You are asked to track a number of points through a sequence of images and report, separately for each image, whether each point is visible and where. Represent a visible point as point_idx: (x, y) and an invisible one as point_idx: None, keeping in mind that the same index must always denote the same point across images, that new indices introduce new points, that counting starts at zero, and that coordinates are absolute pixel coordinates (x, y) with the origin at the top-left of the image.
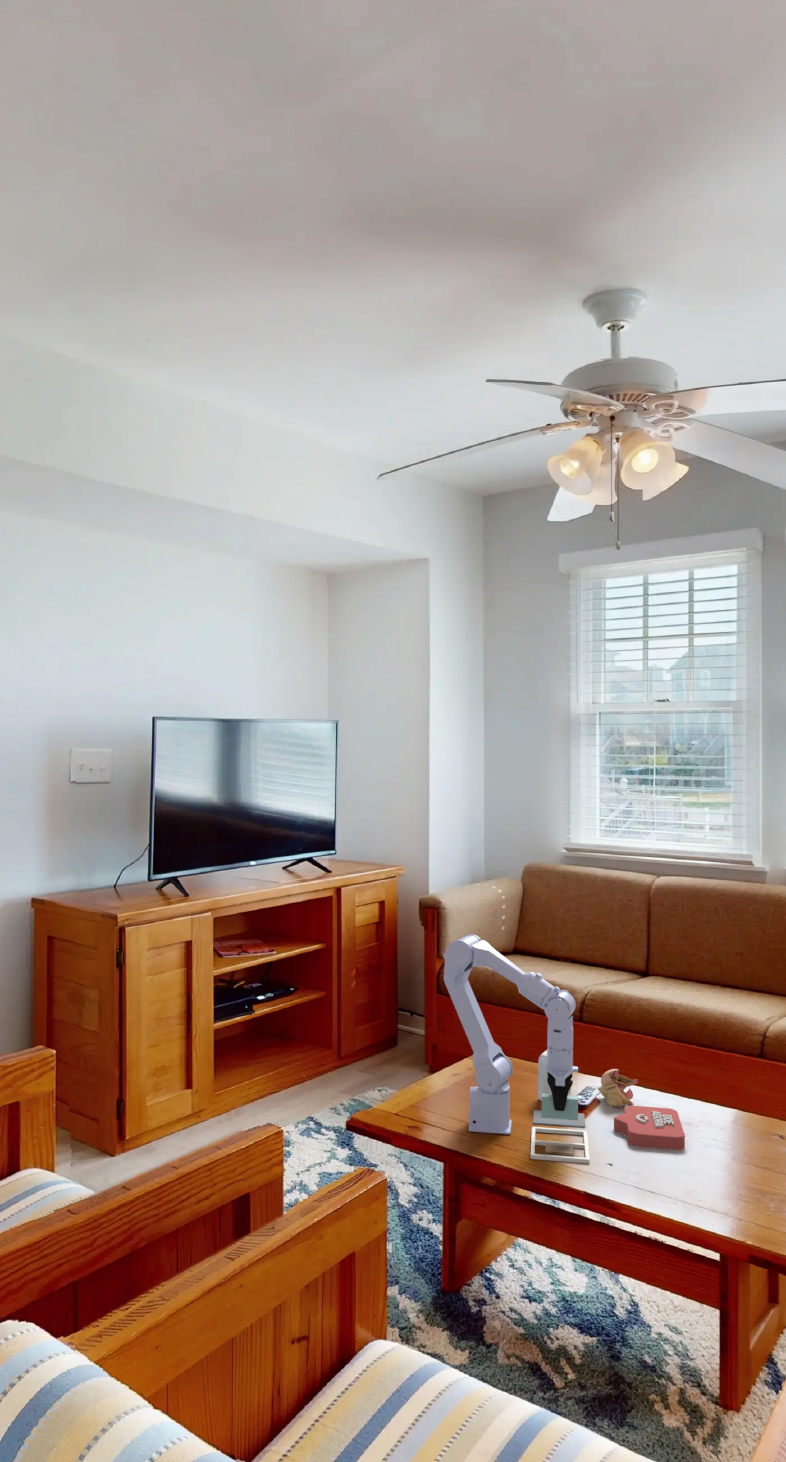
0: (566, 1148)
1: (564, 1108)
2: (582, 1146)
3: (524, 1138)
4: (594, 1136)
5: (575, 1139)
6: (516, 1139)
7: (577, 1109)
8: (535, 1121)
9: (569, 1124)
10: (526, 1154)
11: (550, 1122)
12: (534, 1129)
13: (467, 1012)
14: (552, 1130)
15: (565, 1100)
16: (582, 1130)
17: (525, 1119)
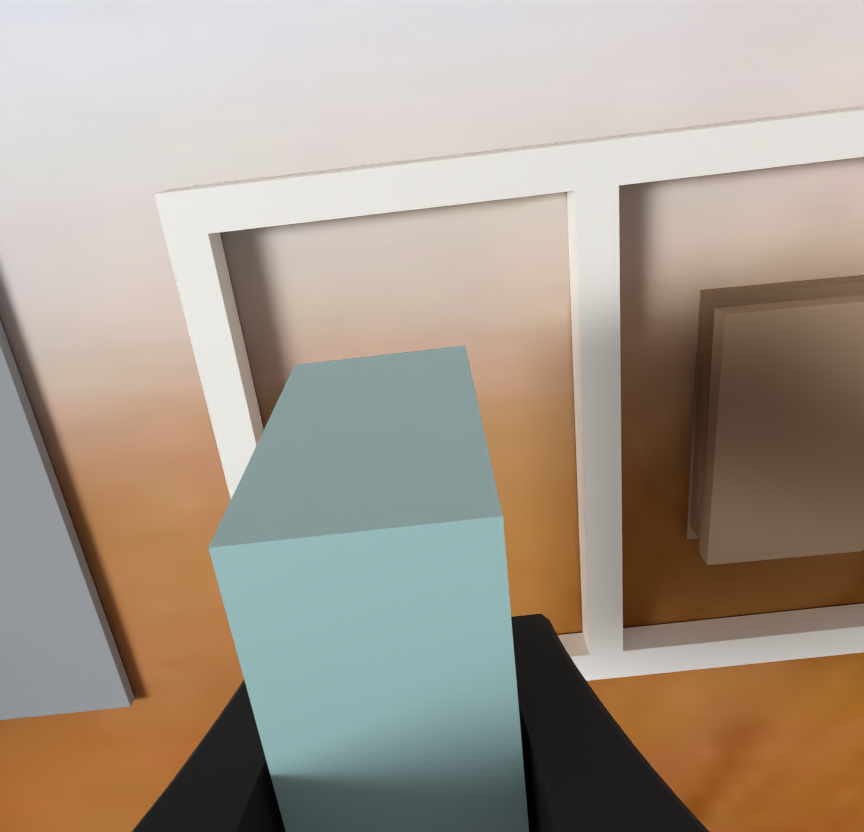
0: (778, 374)
1: (559, 640)
2: (613, 209)
3: None
4: (187, 89)
5: (362, 303)
6: None
7: (481, 421)
8: (96, 694)
9: (2, 405)
10: (820, 659)
11: (50, 580)
12: None
13: None
14: None
15: (629, 755)
16: (169, 249)
17: (62, 758)
